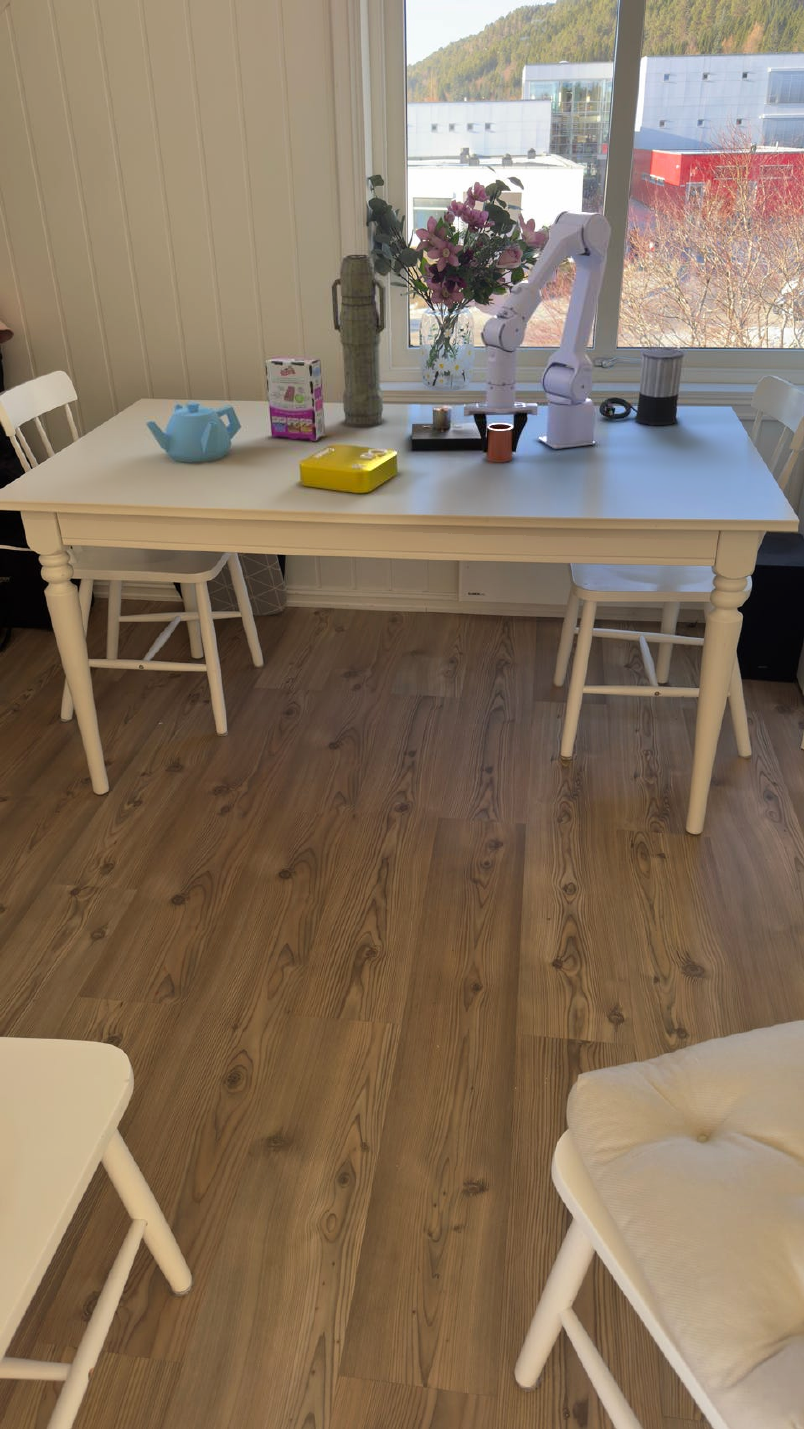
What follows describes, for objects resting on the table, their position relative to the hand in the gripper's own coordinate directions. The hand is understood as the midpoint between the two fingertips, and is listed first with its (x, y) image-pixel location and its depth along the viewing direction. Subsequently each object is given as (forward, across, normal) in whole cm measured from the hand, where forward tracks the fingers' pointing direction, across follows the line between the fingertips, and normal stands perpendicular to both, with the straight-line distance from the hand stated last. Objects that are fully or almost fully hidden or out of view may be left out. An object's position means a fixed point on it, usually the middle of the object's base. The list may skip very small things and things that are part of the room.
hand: (499, 450), depth 207 cm
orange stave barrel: (+2, 0, 0) cm, 2 cm away
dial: (-1, -11, +15) cm, 19 cm away
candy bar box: (+2, -43, +18) cm, 47 cm away
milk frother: (+2, +33, +29) cm, 44 cm away
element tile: (+2, -30, -12) cm, 32 cm away
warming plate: (+2, -10, +12) cm, 16 cm away
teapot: (+2, -63, +6) cm, 63 cm away
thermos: (+2, -29, +30) cm, 42 cm away
